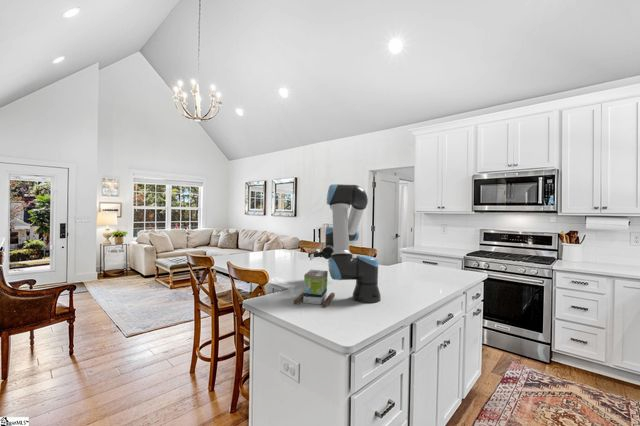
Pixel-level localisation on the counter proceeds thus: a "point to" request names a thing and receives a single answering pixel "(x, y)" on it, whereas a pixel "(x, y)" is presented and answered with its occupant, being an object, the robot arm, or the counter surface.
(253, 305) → the counter surface
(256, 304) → the counter surface
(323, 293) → the tea box
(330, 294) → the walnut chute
